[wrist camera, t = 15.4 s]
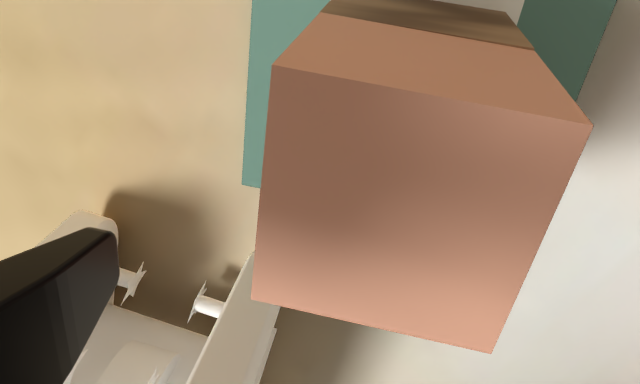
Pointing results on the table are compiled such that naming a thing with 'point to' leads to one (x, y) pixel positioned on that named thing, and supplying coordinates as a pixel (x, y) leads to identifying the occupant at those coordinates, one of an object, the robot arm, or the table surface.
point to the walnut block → (436, 19)
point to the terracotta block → (409, 178)
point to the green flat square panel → (519, 3)
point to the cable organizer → (173, 333)
